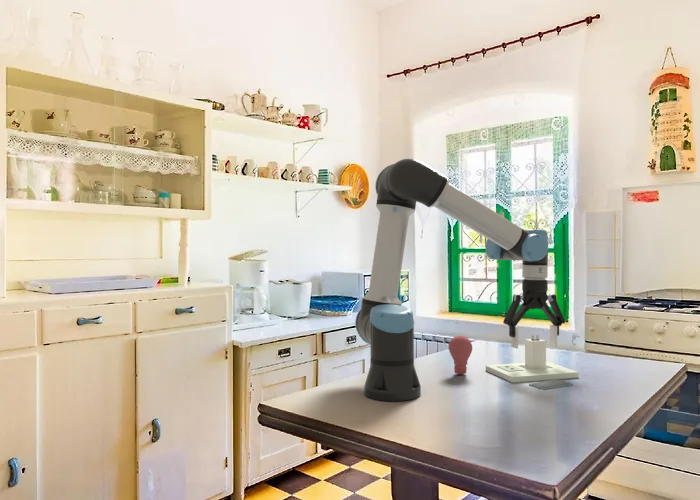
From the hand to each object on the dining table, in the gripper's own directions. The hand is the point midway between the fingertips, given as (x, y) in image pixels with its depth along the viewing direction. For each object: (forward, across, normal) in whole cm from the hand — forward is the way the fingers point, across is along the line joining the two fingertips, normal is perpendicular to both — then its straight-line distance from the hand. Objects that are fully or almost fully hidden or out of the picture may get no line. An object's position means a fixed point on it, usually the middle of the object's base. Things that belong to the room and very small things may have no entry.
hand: (534, 347), depth 172 cm
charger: (+8, 0, 0) cm, 8 cm away
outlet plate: (+8, -2, -2) cm, 8 cm away
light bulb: (+8, -23, +3) cm, 25 cm away
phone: (+8, -4, -16) cm, 18 cm away
